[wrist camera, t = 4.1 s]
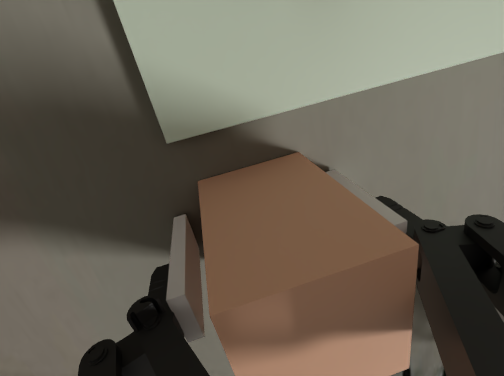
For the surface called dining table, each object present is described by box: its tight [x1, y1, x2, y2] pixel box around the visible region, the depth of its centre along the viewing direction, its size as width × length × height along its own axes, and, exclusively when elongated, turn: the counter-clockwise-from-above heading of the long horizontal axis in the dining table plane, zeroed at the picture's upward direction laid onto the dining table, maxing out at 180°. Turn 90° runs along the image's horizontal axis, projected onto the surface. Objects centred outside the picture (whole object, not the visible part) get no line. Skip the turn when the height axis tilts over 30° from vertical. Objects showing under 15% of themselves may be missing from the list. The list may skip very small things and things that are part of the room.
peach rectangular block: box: [198, 152, 419, 376], centre depth 13 cm, size 6×6×10 cm
